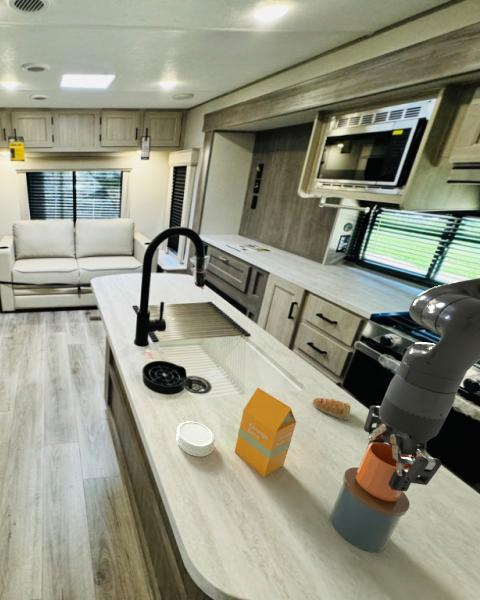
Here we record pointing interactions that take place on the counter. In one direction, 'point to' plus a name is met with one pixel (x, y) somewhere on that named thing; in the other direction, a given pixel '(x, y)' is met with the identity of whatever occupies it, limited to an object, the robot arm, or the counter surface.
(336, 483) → the counter surface
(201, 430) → the white round tub
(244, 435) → the orange juice
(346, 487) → the jar
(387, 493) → the cup
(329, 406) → the pastry
